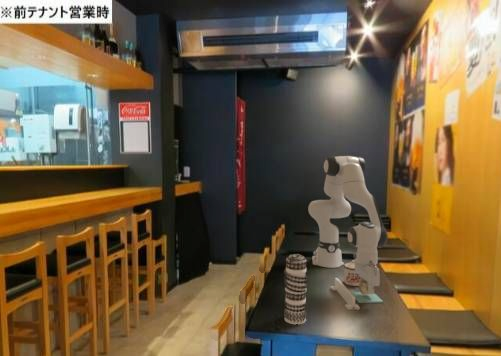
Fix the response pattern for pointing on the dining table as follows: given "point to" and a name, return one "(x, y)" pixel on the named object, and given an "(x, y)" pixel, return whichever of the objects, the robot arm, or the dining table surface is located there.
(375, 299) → the pad
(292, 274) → the decorative candle
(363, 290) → the maple block
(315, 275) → the dining table surface
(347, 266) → the teacup with lid
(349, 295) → the divider wall
